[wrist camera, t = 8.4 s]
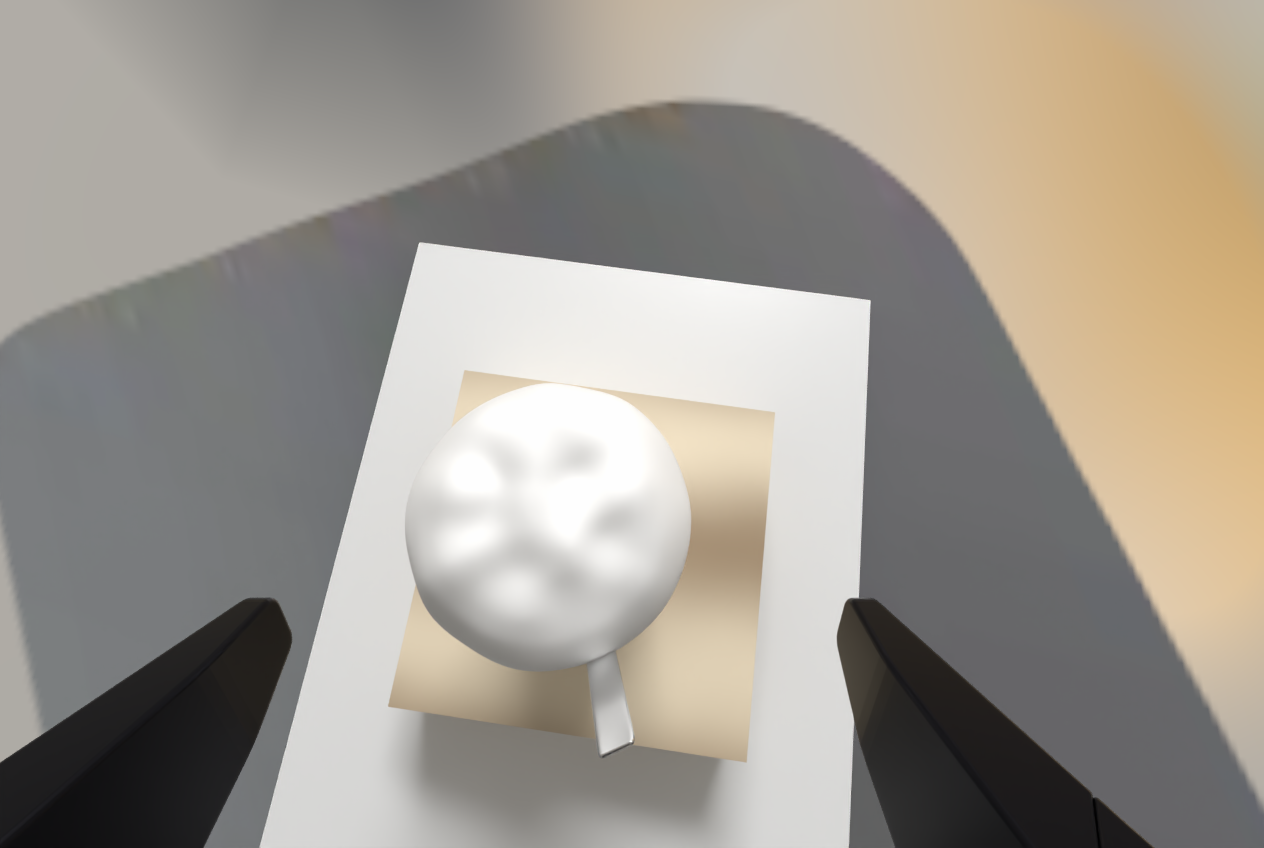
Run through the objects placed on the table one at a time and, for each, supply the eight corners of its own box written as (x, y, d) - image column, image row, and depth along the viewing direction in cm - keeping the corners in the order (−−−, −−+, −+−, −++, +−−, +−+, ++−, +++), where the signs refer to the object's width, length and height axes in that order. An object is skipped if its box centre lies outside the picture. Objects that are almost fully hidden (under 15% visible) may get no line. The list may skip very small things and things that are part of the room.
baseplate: (831, 953, 18) (843, 975, 17) (271, 860, 18) (251, 876, 17) (860, 311, 23) (870, 300, 22) (427, 255, 24) (419, 242, 23)
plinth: (728, 732, 18) (746, 762, 16) (425, 685, 19) (387, 706, 16) (754, 434, 21) (774, 412, 18) (487, 397, 21) (464, 370, 18)
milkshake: (554, 678, 16) (427, 838, 6) (493, 502, 17) (310, 410, 8) (702, 614, 16) (794, 672, 7) (632, 446, 18) (624, 292, 8)
